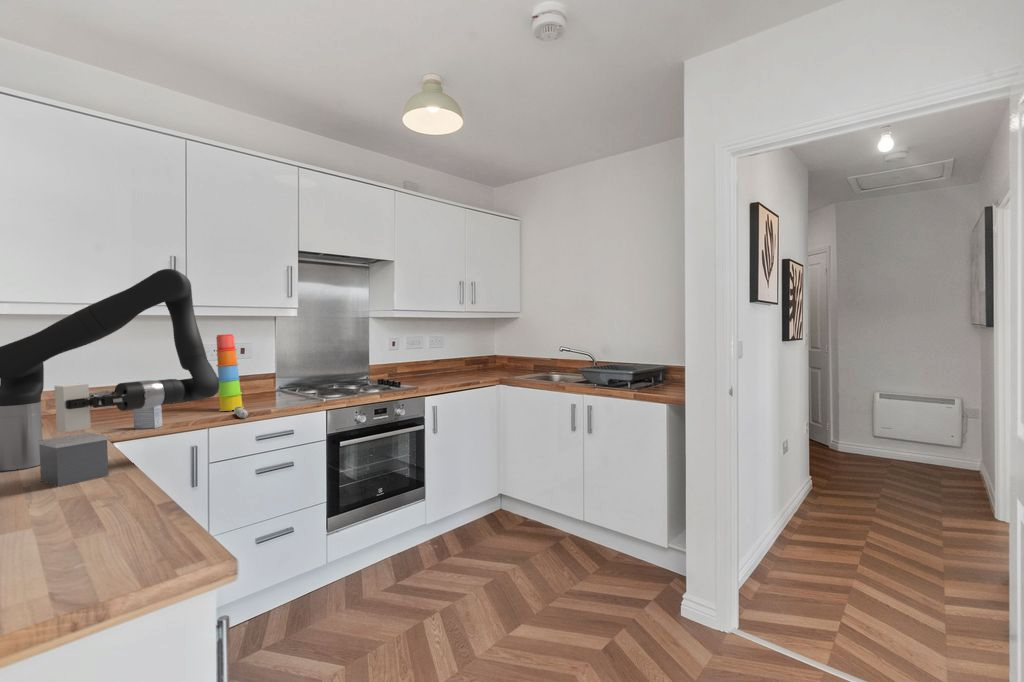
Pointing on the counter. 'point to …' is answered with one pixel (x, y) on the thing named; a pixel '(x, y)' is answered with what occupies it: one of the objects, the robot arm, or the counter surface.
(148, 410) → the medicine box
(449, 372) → the counter surface
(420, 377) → the counter surface
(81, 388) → the cream block
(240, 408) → the grey rock
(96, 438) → the block
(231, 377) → the stacking cups
